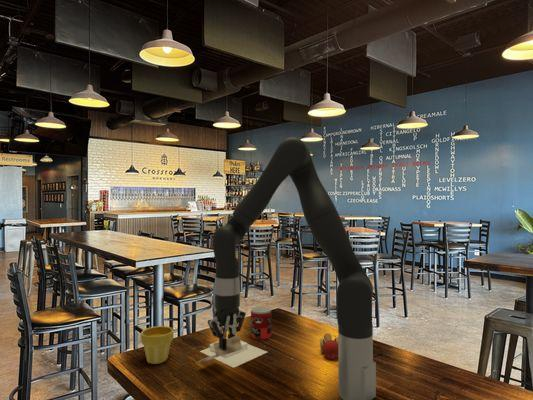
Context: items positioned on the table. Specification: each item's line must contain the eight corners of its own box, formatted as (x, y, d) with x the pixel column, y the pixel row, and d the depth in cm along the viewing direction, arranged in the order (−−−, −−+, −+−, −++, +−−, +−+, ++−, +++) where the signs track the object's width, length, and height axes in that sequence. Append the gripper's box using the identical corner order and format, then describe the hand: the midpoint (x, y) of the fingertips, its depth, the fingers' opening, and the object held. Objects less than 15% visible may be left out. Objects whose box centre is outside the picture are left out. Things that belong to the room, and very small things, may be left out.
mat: (267, 353, 127) (267, 351, 127) (233, 369, 116) (233, 367, 116) (233, 339, 140) (233, 338, 140) (199, 352, 128) (199, 351, 128)
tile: (247, 343, 130) (231, 336, 136) (226, 351, 123) (209, 344, 129) (247, 348, 130) (231, 342, 136) (226, 357, 123) (209, 350, 129)
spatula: (248, 346, 109) (244, 333, 110) (230, 353, 104) (226, 339, 105) (216, 355, 119) (212, 343, 120) (198, 362, 114) (195, 349, 115)
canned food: (248, 335, 144) (248, 307, 144) (266, 332, 147) (266, 305, 147) (255, 342, 137) (255, 313, 137) (274, 338, 140) (274, 310, 140)
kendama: (315, 344, 139) (318, 358, 121) (318, 327, 139) (322, 338, 122) (335, 348, 138) (342, 363, 120) (338, 331, 139) (345, 344, 121)
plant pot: (158, 350, 130) (158, 323, 130) (179, 357, 124) (179, 328, 124) (134, 362, 121) (134, 332, 121) (156, 369, 116) (156, 338, 115)
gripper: (217, 298, 102) (217, 359, 102) (252, 289, 112) (252, 345, 112) (200, 293, 107) (201, 351, 107) (236, 285, 117) (236, 338, 117)
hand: (227, 348), depth 110 cm, fingers closed on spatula, 2 cm apart
